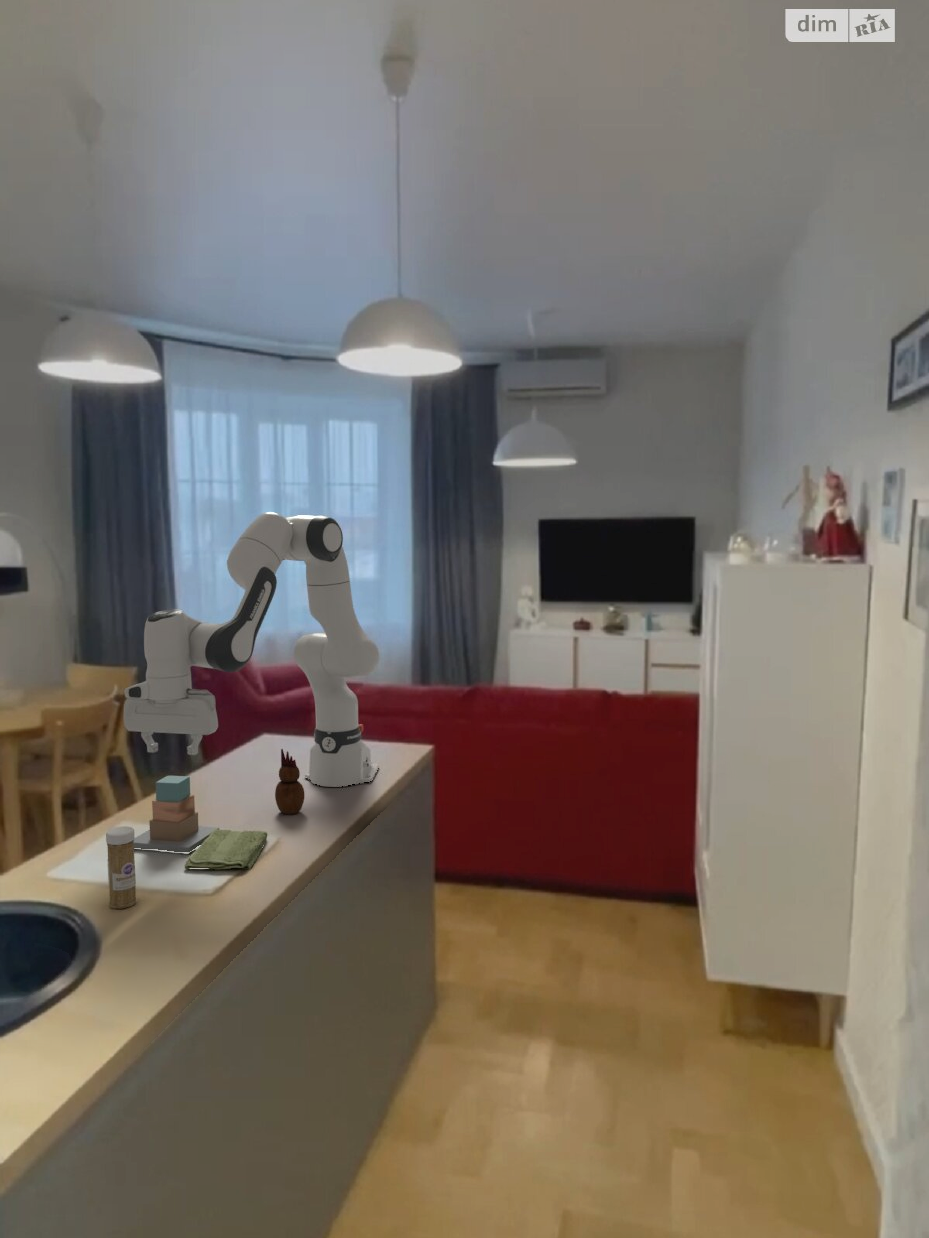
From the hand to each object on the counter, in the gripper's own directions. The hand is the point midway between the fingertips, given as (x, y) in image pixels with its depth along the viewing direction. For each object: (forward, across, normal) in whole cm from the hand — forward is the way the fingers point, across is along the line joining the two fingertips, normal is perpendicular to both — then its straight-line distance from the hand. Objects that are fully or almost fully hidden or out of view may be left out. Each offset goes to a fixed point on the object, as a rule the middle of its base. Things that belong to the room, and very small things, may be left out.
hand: (172, 753), depth 173 cm
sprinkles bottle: (+19, -8, +30) cm, 36 cm away
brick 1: (+10, 0, 0) cm, 10 cm away
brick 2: (+14, 0, 0) cm, 14 cm away
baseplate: (+19, 0, +1) cm, 19 cm away
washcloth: (+20, -15, +5) cm, 25 cm away
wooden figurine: (+20, -15, -22) cm, 34 cm away
